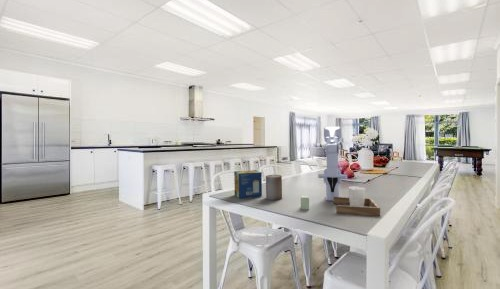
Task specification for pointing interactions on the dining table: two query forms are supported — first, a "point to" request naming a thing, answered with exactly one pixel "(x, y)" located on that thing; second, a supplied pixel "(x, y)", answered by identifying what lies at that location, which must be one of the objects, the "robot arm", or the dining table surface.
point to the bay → (356, 207)
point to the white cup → (357, 196)
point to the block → (304, 202)
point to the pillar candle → (274, 187)
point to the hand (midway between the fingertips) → (332, 191)
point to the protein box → (248, 183)
